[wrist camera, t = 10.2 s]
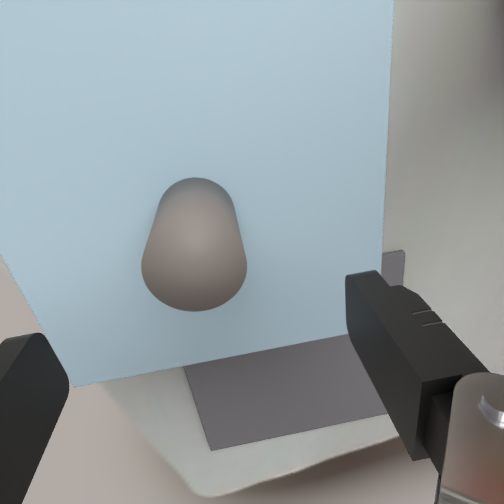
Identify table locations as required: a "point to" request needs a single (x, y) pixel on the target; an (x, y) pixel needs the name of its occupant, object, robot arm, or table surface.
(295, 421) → the mat
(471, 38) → the table surface
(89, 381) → the sheet
